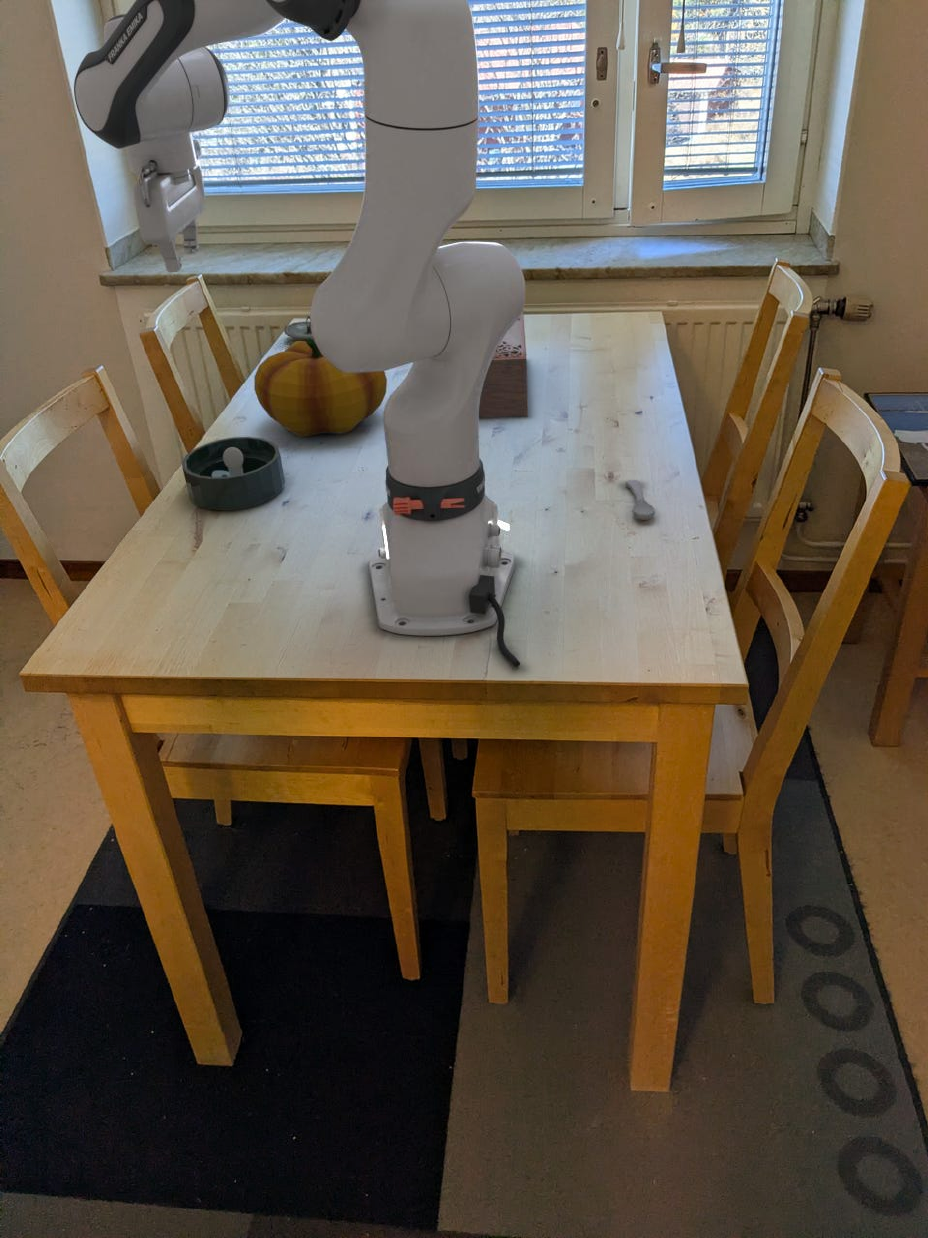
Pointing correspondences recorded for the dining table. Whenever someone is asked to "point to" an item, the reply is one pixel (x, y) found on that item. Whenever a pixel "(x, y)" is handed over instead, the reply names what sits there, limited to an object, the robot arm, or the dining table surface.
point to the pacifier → (231, 463)
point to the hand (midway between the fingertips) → (183, 261)
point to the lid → (299, 330)
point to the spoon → (640, 502)
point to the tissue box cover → (507, 377)
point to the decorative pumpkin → (315, 391)
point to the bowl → (238, 490)
